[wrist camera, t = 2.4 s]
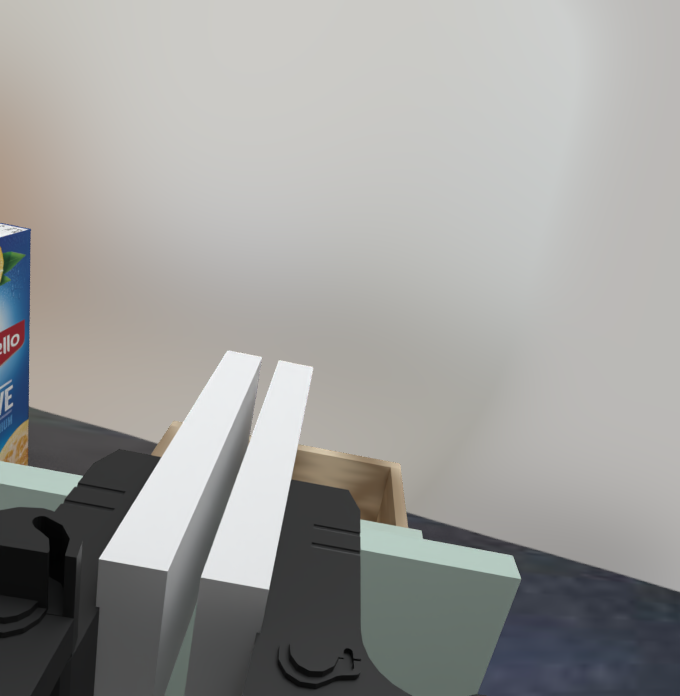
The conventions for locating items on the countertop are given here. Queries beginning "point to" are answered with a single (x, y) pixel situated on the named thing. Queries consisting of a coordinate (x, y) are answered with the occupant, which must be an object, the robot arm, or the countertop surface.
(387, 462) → the wooden box
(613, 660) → the countertop surface
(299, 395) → the robot arm
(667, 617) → the countertop surface
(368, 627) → the grey-green angled piece
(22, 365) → the blue food box
